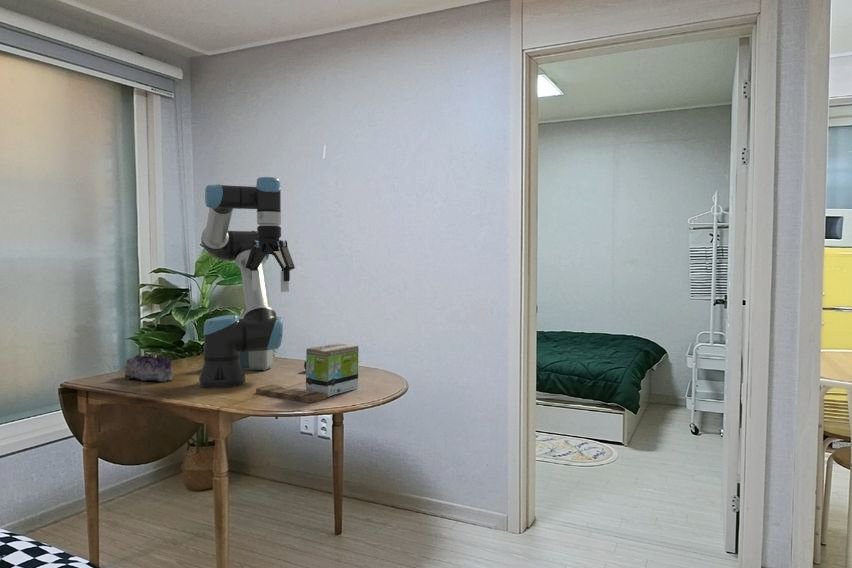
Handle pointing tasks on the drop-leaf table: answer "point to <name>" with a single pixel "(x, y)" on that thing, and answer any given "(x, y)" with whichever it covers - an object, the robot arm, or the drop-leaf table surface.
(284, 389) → the walnut plank
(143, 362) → the geode
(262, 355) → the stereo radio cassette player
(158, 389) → the drop-leaf table surface
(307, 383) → the tea box
